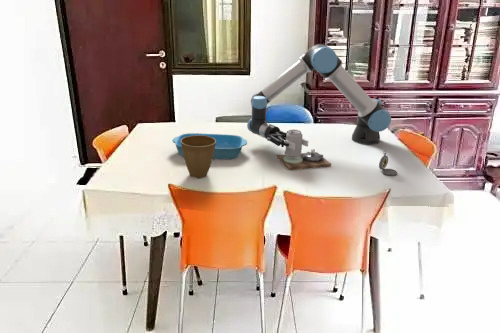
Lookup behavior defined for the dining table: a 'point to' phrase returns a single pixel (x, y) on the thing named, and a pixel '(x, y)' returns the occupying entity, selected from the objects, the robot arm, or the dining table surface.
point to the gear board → (304, 164)
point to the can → (295, 138)
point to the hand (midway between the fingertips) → (301, 145)
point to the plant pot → (198, 154)
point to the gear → (312, 156)
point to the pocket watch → (384, 162)
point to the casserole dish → (218, 145)
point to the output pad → (292, 160)
